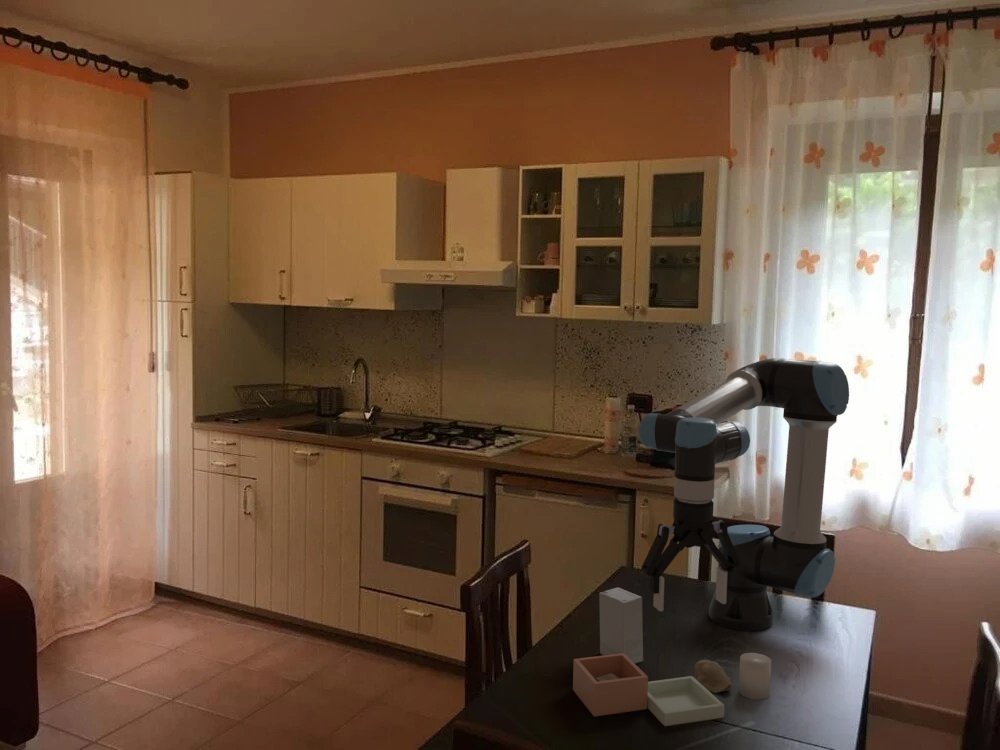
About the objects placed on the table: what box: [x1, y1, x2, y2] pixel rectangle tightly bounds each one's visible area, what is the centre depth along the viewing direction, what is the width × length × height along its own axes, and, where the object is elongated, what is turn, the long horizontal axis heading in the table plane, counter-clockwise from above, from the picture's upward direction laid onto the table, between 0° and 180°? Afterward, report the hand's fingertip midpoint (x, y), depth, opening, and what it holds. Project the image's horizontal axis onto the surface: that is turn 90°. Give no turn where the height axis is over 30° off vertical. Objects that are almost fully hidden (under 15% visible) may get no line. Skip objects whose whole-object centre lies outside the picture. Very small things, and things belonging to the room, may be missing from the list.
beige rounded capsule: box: [738, 652, 772, 701], centre depth 173 cm, size 6×6×7 cm
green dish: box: [647, 675, 725, 727], centre depth 167 cm, size 12×12×3 cm
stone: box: [694, 659, 733, 694], centre depth 176 cm, size 7×6×8 cm
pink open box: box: [572, 653, 649, 718], centre depth 169 cm, size 11×11×7 cm
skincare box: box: [598, 587, 644, 664], centre depth 187 cm, size 8×6×15 cm
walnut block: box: [595, 673, 620, 682], centre depth 169 cm, size 4×4×4 cm
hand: (689, 605), depth 168 cm, fingers open, 13 cm apart
